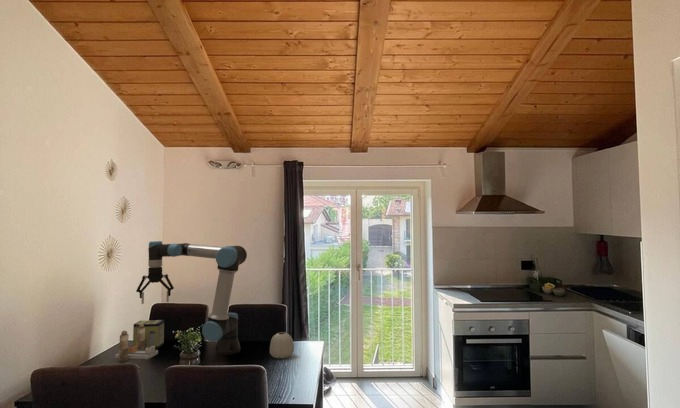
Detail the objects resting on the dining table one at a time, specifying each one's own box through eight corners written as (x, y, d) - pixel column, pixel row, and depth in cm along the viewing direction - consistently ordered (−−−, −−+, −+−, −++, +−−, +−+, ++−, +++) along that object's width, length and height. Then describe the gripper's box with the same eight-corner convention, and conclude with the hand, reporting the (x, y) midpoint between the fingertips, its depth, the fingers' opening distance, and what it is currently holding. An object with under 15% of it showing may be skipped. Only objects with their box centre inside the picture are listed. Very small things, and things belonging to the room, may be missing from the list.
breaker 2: (154, 351, 228) (155, 344, 228) (150, 353, 223) (150, 346, 223) (150, 350, 228) (150, 344, 228) (145, 353, 223) (145, 346, 223)
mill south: (146, 350, 236) (146, 323, 238) (141, 352, 232) (142, 324, 233) (139, 350, 237) (140, 323, 238) (134, 352, 232) (135, 324, 234)
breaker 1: (137, 350, 229) (137, 344, 229) (132, 353, 224) (132, 346, 224) (132, 350, 229) (132, 343, 229) (127, 353, 224) (127, 346, 224)
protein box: (138, 345, 249) (139, 320, 250) (164, 344, 250) (164, 319, 251) (132, 349, 238) (132, 324, 239) (158, 348, 240) (159, 323, 241)
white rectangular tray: (158, 353, 230) (158, 349, 230) (148, 359, 220) (148, 354, 220) (126, 352, 232) (126, 348, 232) (115, 358, 222) (115, 353, 222)
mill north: (129, 359, 220) (130, 329, 222) (124, 361, 216) (125, 331, 217) (122, 358, 221) (123, 329, 222) (117, 361, 216) (118, 331, 218)
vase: (281, 351, 233) (281, 329, 234) (298, 355, 225) (298, 332, 226) (264, 357, 222) (264, 334, 223) (281, 362, 214) (282, 337, 215)
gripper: (178, 265, 240) (178, 300, 238) (133, 267, 232) (133, 303, 231) (177, 266, 232) (177, 301, 231) (130, 268, 225) (130, 305, 223)
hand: (155, 302), depth 231 cm, fingers open, 13 cm apart
